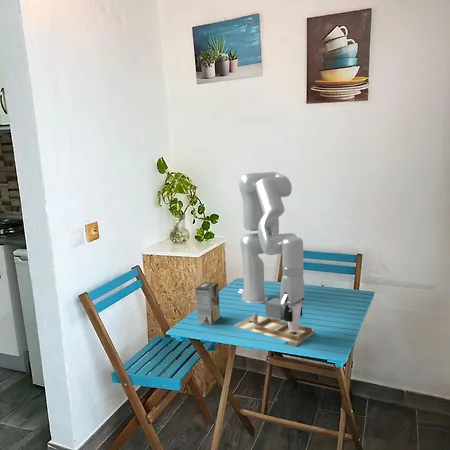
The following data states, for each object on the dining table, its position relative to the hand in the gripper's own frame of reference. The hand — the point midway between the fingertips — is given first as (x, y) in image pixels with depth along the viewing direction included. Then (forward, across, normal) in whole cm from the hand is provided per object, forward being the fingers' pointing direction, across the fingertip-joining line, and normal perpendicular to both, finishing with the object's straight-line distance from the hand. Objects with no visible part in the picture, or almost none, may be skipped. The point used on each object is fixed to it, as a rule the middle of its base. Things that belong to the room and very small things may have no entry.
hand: (293, 317), depth 163 cm
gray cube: (+7, -12, -15) cm, 21 cm away
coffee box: (+8, +8, -35) cm, 37 cm away
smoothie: (+4, 0, 0) cm, 4 cm away
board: (+7, 0, -9) cm, 12 cm away
